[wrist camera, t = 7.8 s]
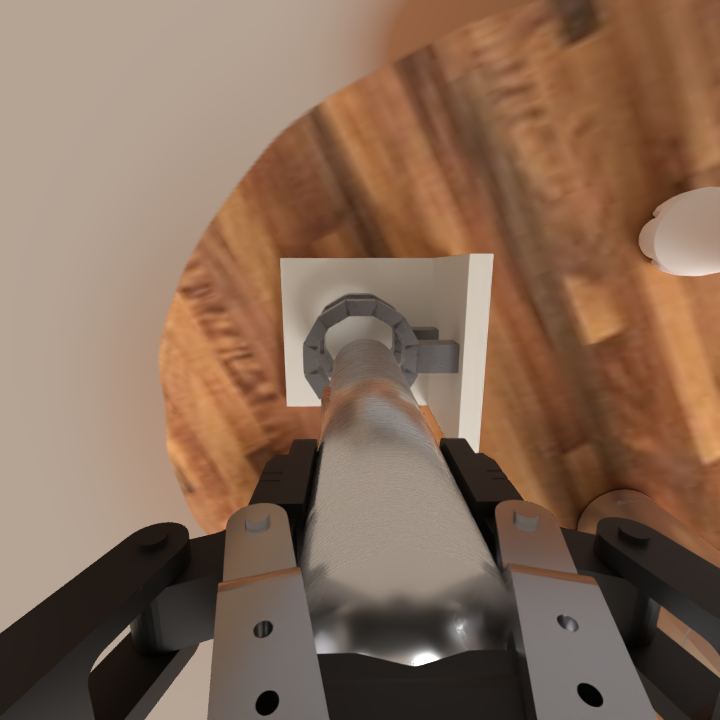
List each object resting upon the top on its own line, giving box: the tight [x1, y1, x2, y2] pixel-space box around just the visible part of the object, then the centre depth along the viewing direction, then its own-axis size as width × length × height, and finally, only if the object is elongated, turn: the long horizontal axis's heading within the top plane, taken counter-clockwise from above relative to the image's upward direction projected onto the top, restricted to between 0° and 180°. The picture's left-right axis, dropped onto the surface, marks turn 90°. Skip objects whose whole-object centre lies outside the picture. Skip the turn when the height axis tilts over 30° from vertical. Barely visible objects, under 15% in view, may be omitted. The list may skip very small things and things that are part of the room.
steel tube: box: [297, 339, 508, 666], centre depth 15 cm, size 4×4×18 cm
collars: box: [303, 293, 460, 400], centre depth 31 cm, size 8×11×8 cm
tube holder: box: [280, 254, 494, 453], centre depth 32 cm, size 14×16×12 cm
